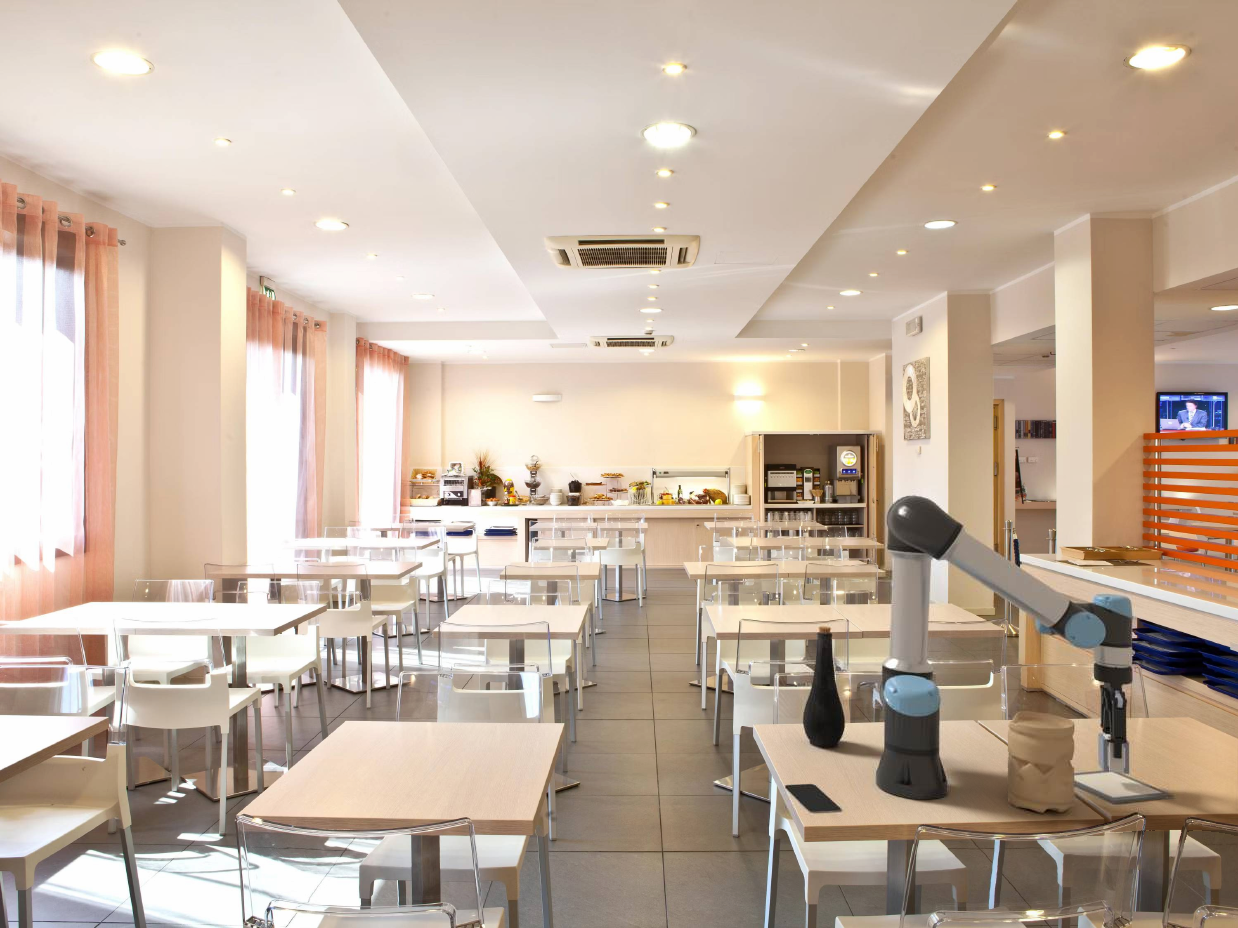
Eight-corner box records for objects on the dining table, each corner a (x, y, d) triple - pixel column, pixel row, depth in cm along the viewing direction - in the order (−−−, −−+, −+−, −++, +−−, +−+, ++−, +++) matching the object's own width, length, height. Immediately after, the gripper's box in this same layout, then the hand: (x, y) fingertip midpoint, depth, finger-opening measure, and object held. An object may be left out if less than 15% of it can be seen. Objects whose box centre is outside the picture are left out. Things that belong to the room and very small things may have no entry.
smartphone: (814, 783, 184) (842, 809, 169) (814, 786, 184) (842, 812, 169) (782, 784, 182) (809, 811, 168) (782, 787, 182) (809, 814, 168)
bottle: (850, 741, 215) (851, 626, 215) (837, 752, 206) (838, 632, 206) (810, 734, 220) (811, 622, 221) (796, 744, 211) (798, 628, 212)
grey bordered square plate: (1113, 803, 175) (1113, 800, 175) (1055, 777, 191) (1055, 774, 191) (1173, 797, 179) (1173, 794, 179) (1111, 771, 195) (1111, 769, 195)
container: (1010, 811, 170) (1010, 723, 171) (1005, 790, 182) (1005, 708, 182) (1079, 820, 166) (1079, 731, 166) (1069, 798, 178) (1069, 715, 178)
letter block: (1129, 774, 182) (1129, 740, 182) (1103, 771, 183) (1103, 738, 183) (1123, 766, 187) (1123, 734, 187) (1098, 763, 188) (1098, 731, 188)
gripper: (1143, 673, 176) (1143, 783, 175) (1121, 657, 193) (1122, 756, 192) (1103, 670, 178) (1103, 778, 178) (1085, 654, 195) (1086, 753, 195)
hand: (1113, 767), depth 185 cm, fingers closed on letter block, 5 cm apart
